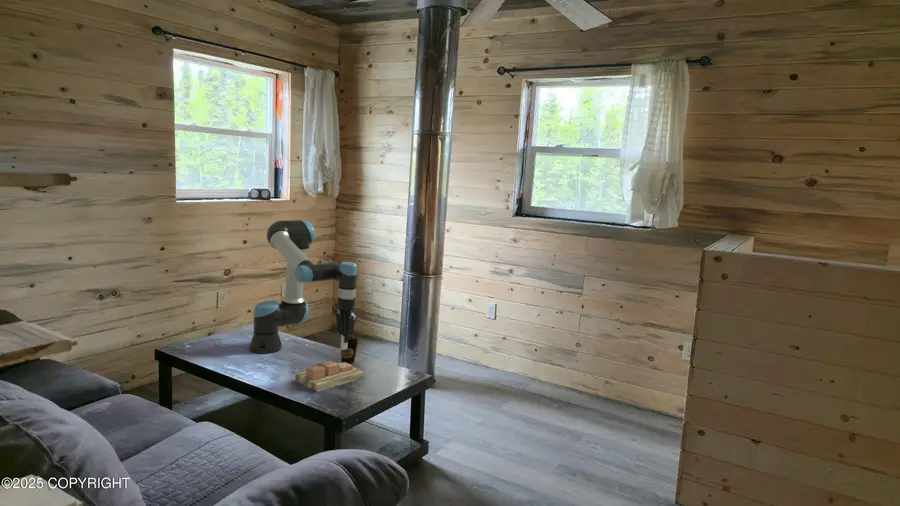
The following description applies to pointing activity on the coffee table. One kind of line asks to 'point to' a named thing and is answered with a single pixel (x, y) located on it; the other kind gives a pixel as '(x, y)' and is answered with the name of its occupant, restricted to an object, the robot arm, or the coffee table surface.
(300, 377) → the board
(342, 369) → the tile three pips
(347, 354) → the coffee cup
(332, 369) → the tile two pips
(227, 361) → the coffee table surface
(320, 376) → the tile one pip
